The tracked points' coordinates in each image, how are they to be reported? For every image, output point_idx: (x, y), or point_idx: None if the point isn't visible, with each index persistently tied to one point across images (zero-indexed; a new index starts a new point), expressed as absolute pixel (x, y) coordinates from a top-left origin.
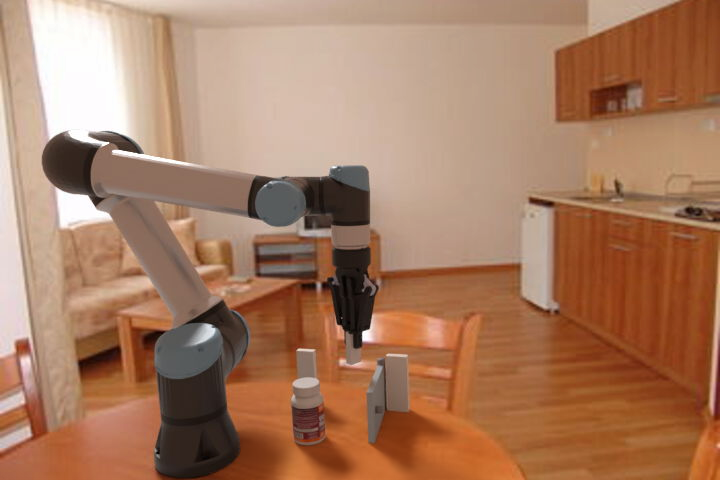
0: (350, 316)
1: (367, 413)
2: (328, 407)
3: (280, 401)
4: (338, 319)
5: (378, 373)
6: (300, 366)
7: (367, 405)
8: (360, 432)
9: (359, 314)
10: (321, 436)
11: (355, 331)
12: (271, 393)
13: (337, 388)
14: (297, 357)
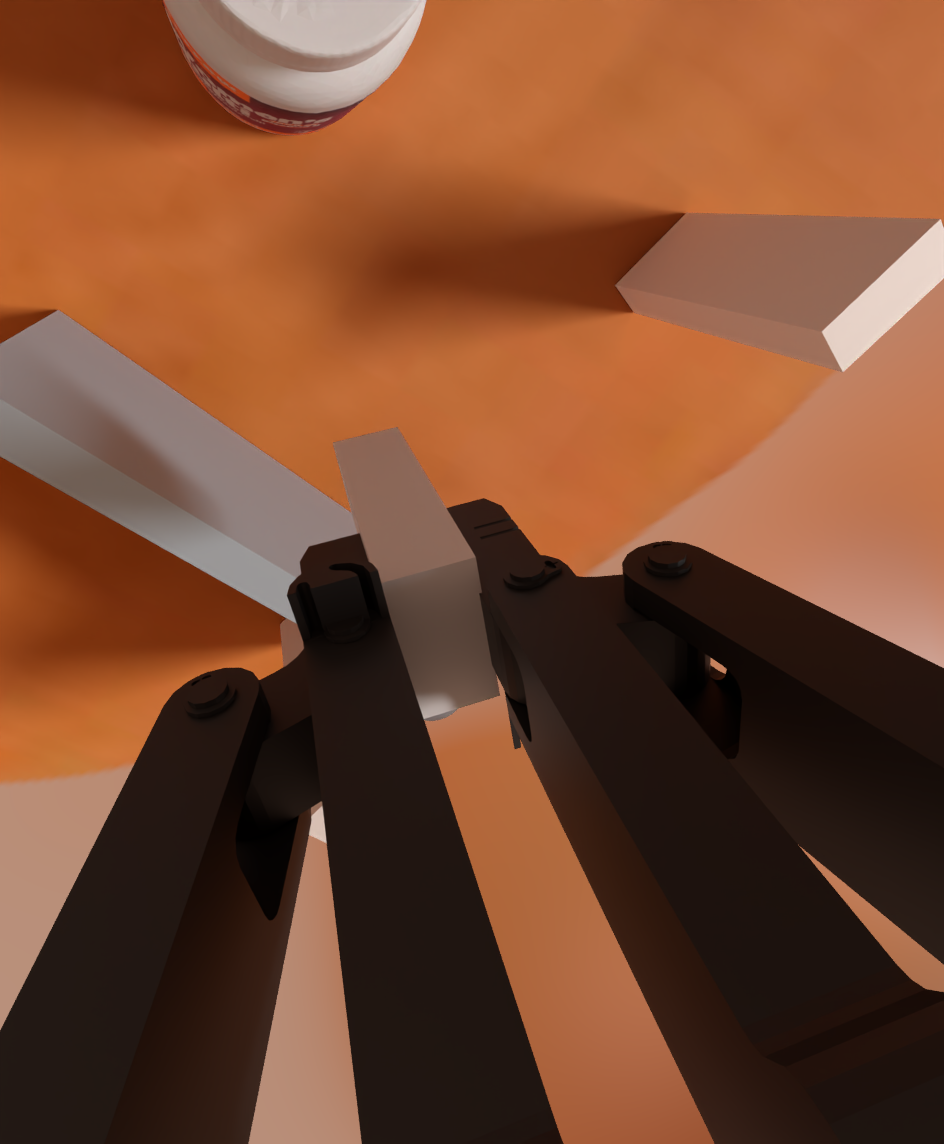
0: (432, 753)
1: (9, 340)
2: (547, 327)
3: (773, 128)
4: (684, 589)
5: (283, 603)
6: (819, 236)
7: None
8: (199, 333)
9: (161, 924)
10: (183, 54)
11: (308, 648)
12: (880, 134)
13: (685, 463)
14: (887, 224)
